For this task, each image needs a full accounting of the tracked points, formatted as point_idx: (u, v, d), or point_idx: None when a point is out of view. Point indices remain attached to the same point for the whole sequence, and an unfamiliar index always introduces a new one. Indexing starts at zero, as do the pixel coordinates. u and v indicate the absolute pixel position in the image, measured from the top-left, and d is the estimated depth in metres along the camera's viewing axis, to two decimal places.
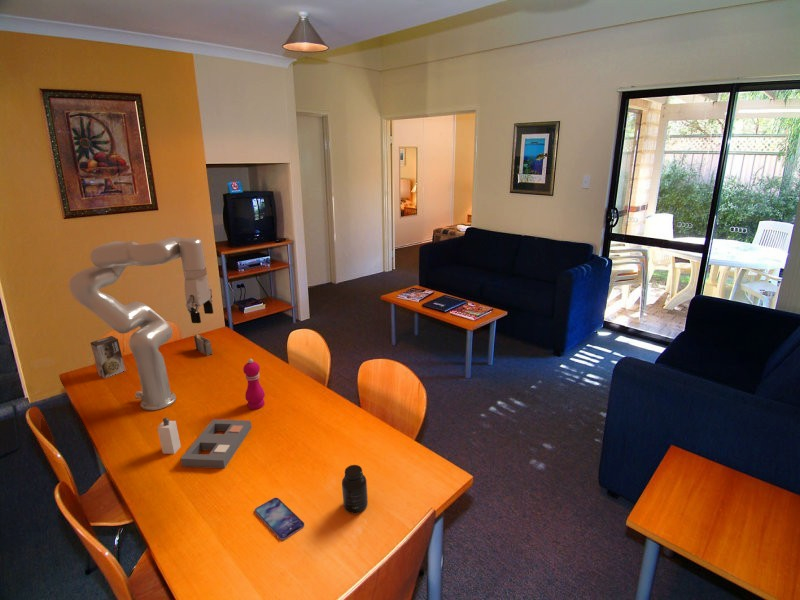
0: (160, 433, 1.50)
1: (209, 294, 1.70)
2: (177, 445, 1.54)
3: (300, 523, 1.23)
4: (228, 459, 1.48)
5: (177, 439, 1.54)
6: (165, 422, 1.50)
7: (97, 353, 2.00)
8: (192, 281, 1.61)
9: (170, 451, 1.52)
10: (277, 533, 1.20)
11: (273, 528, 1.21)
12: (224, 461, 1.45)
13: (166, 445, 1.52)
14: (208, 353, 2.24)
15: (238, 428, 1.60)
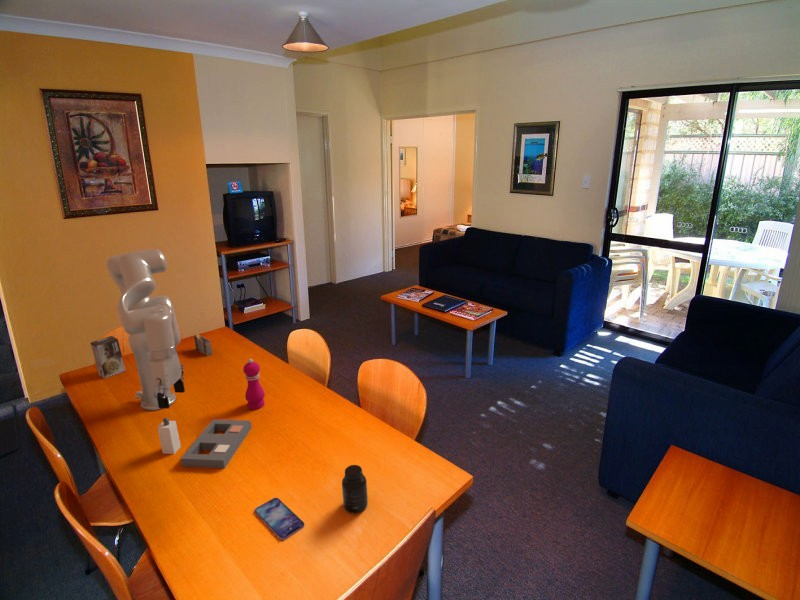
0: (160, 433, 1.50)
1: (180, 372, 1.50)
2: (177, 445, 1.54)
3: (300, 523, 1.23)
4: (228, 459, 1.48)
5: (177, 439, 1.54)
6: (165, 422, 1.50)
7: (97, 353, 2.00)
8: (159, 363, 1.40)
9: (170, 451, 1.52)
10: (277, 533, 1.20)
11: (273, 528, 1.21)
12: (224, 461, 1.45)
13: (166, 445, 1.52)
14: (208, 353, 2.24)
15: (238, 428, 1.60)
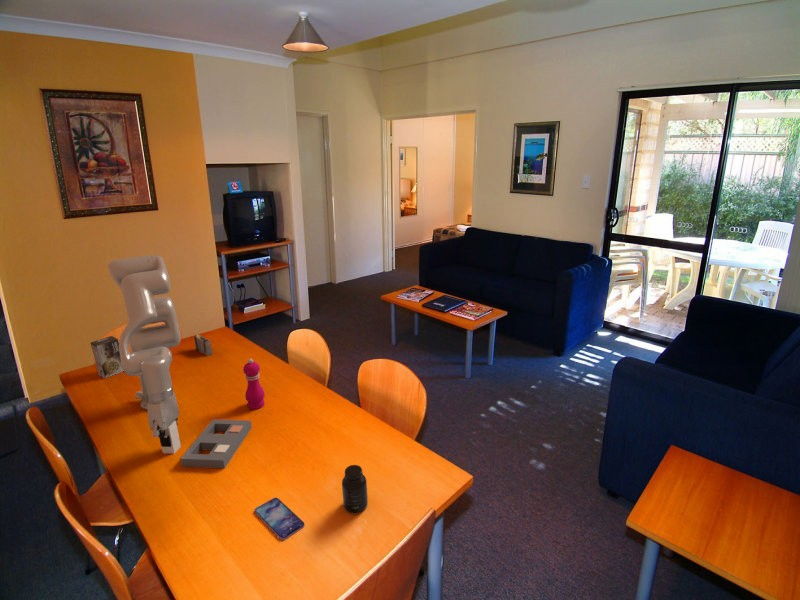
0: None
1: (177, 412, 1.54)
2: (177, 445, 1.55)
3: (300, 523, 1.23)
4: (228, 459, 1.48)
5: (177, 439, 1.54)
6: None
7: (97, 353, 2.00)
8: (156, 405, 1.44)
9: (170, 451, 1.53)
10: (277, 533, 1.20)
11: (273, 528, 1.21)
12: (224, 461, 1.45)
13: None
14: (208, 353, 2.24)
15: (238, 428, 1.60)
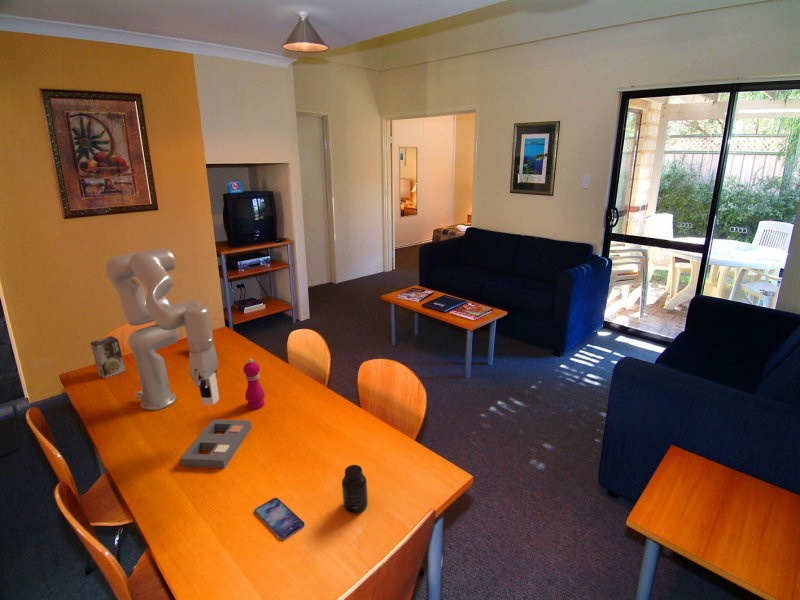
0: None
1: (216, 364, 1.56)
2: (216, 397, 1.56)
3: (301, 523, 1.23)
4: (228, 459, 1.48)
5: (216, 391, 1.56)
6: None
7: (97, 353, 2.00)
8: (197, 354, 1.46)
9: (209, 402, 1.54)
10: (277, 533, 1.20)
11: (273, 528, 1.21)
12: (224, 461, 1.45)
13: None
14: None
15: (238, 428, 1.60)
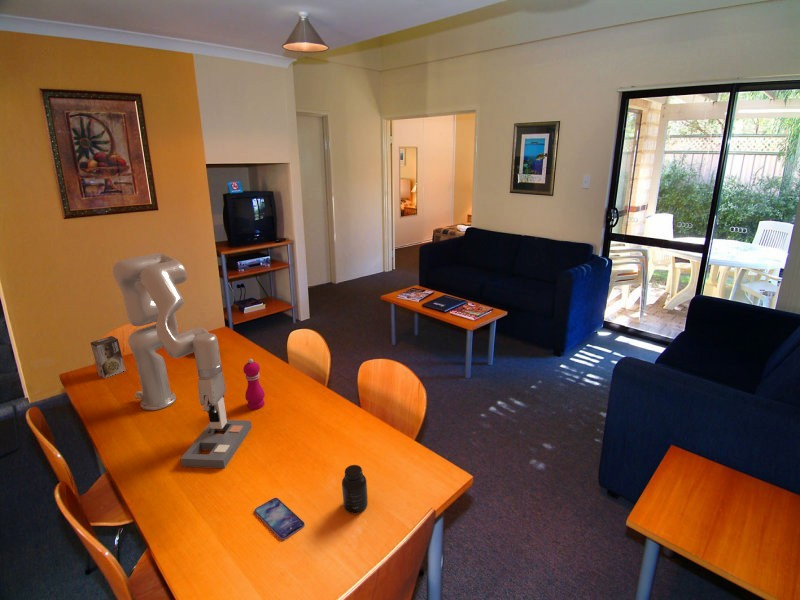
0: None
1: (224, 389, 1.59)
2: (224, 421, 1.60)
3: (301, 523, 1.23)
4: (228, 459, 1.48)
5: (224, 415, 1.60)
6: None
7: (97, 353, 2.00)
8: (206, 381, 1.50)
9: (218, 426, 1.58)
10: (277, 533, 1.20)
11: (273, 528, 1.21)
12: (224, 461, 1.45)
13: None
14: None
15: (238, 428, 1.60)
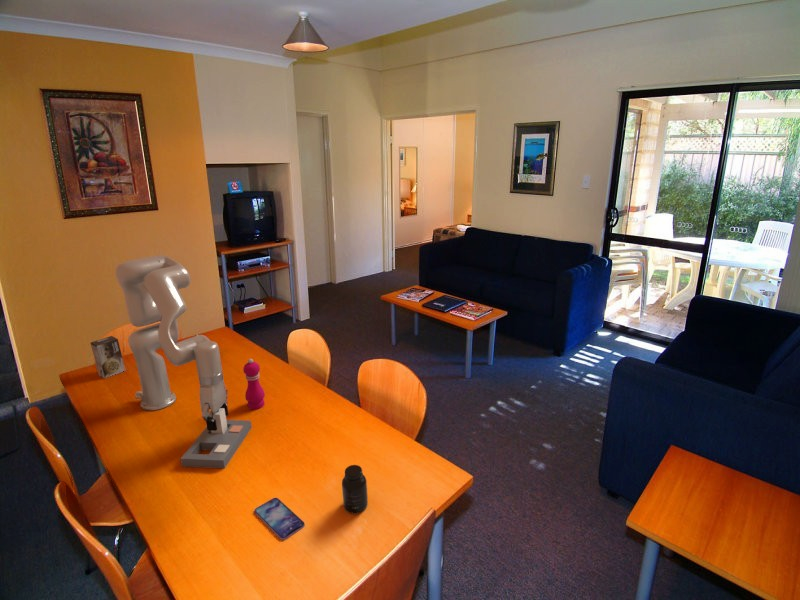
0: None
1: (225, 396, 1.60)
2: (225, 431, 1.62)
3: (301, 523, 1.23)
4: (228, 459, 1.48)
5: (225, 425, 1.61)
6: None
7: (97, 353, 2.00)
8: (208, 389, 1.51)
9: None
10: (277, 533, 1.20)
11: (273, 528, 1.21)
12: (224, 461, 1.45)
13: (216, 431, 1.59)
14: None
15: (238, 428, 1.60)
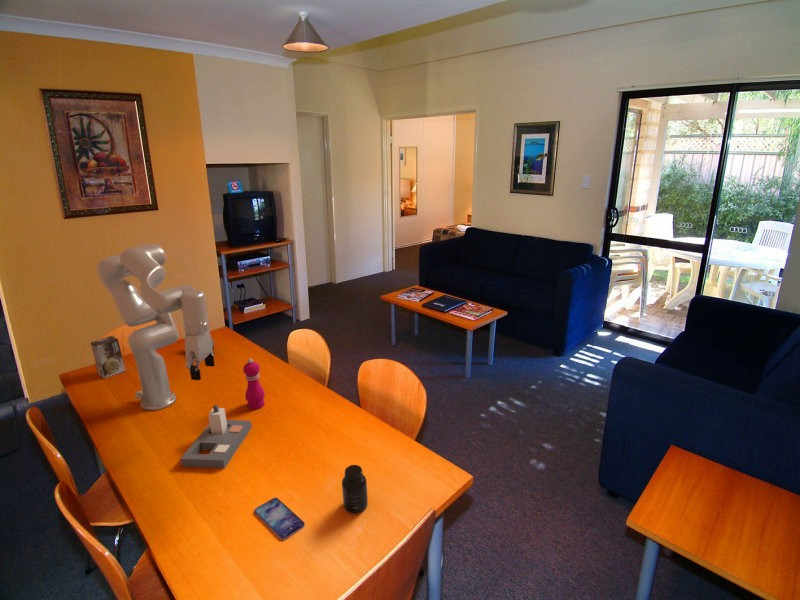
0: (210, 420, 1.57)
1: (211, 347, 1.60)
2: (225, 431, 1.62)
3: (301, 523, 1.23)
4: (228, 459, 1.48)
5: (225, 425, 1.61)
6: (215, 409, 1.57)
7: (97, 353, 2.00)
8: (193, 337, 1.50)
9: None
10: (277, 533, 1.20)
11: (273, 528, 1.21)
12: (224, 461, 1.45)
13: (216, 431, 1.59)
14: None
15: (238, 428, 1.60)
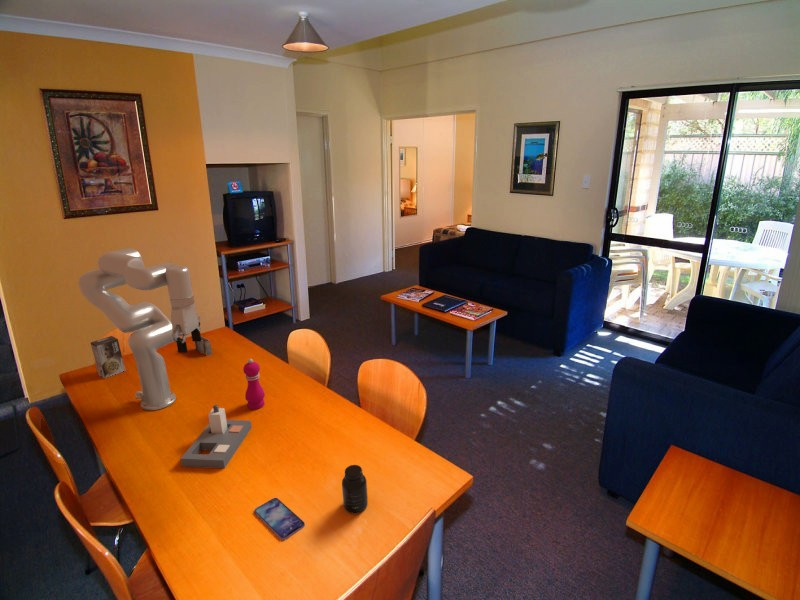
0: (211, 420, 1.57)
1: (197, 322, 1.66)
2: (225, 431, 1.62)
3: (301, 523, 1.23)
4: (228, 459, 1.48)
5: (225, 425, 1.61)
6: (215, 409, 1.57)
7: (97, 353, 2.00)
8: (178, 310, 1.56)
9: None
10: (278, 533, 1.20)
11: (273, 528, 1.21)
12: (224, 461, 1.45)
13: (216, 431, 1.59)
14: (208, 353, 2.25)
15: (238, 428, 1.60)
